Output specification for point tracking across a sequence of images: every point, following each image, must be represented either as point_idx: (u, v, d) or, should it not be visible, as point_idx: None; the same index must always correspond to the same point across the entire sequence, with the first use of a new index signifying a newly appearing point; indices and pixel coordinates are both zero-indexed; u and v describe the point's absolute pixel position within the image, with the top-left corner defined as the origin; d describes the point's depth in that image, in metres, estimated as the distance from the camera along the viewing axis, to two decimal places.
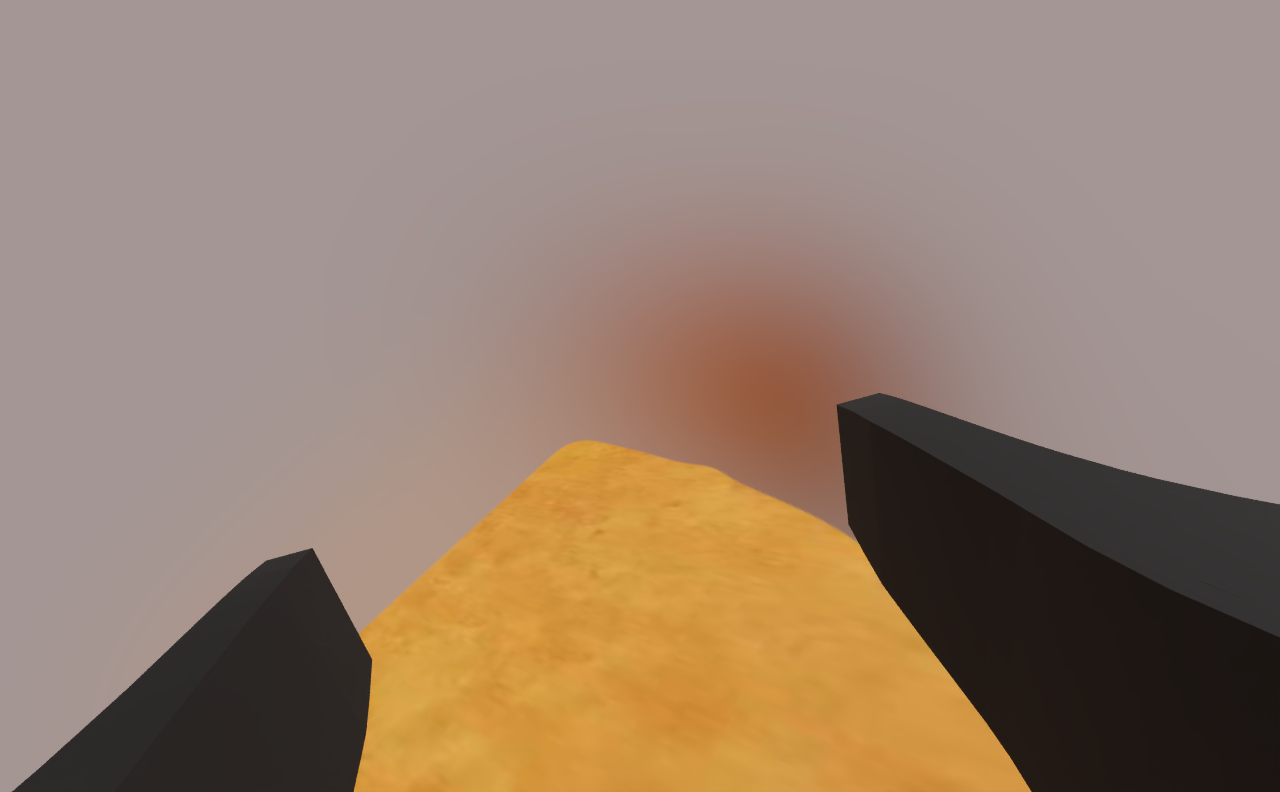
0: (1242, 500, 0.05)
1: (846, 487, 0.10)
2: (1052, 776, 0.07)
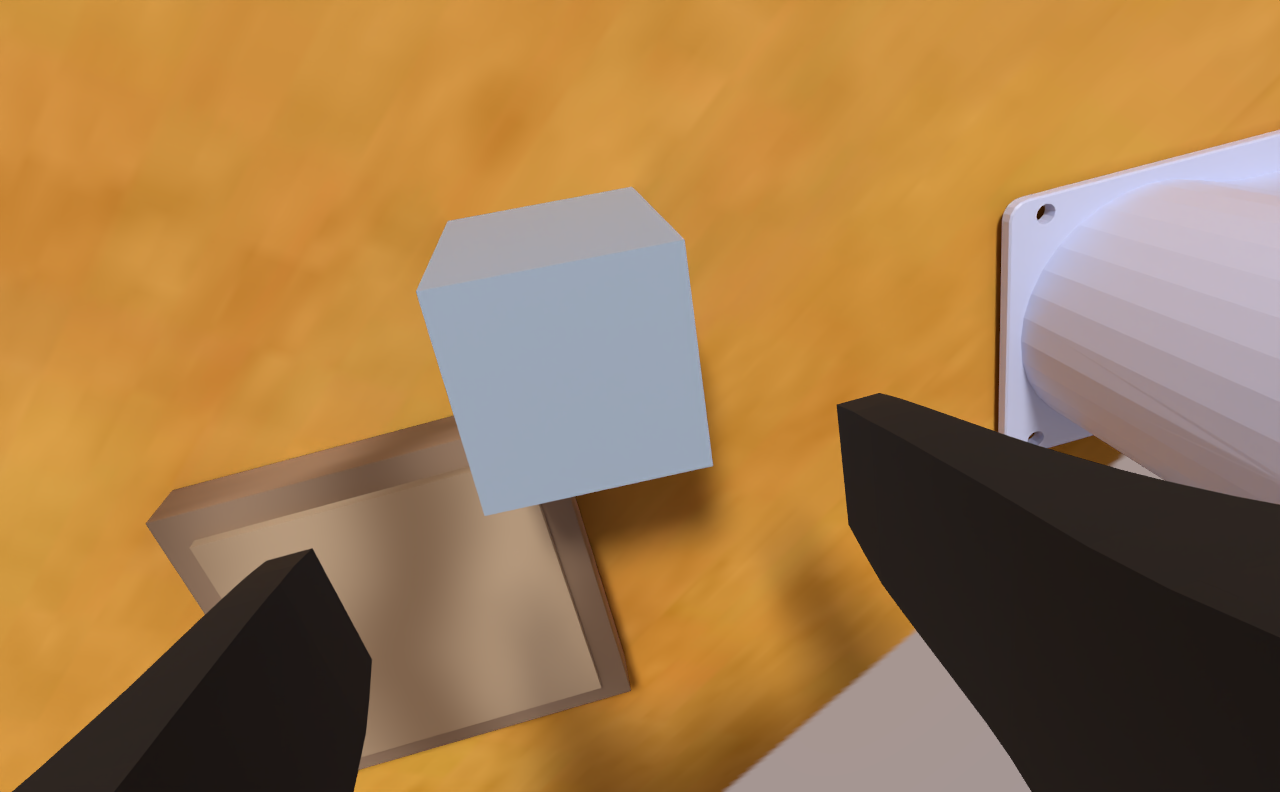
0: (1242, 500, 0.05)
1: (846, 487, 0.10)
2: (1052, 776, 0.07)
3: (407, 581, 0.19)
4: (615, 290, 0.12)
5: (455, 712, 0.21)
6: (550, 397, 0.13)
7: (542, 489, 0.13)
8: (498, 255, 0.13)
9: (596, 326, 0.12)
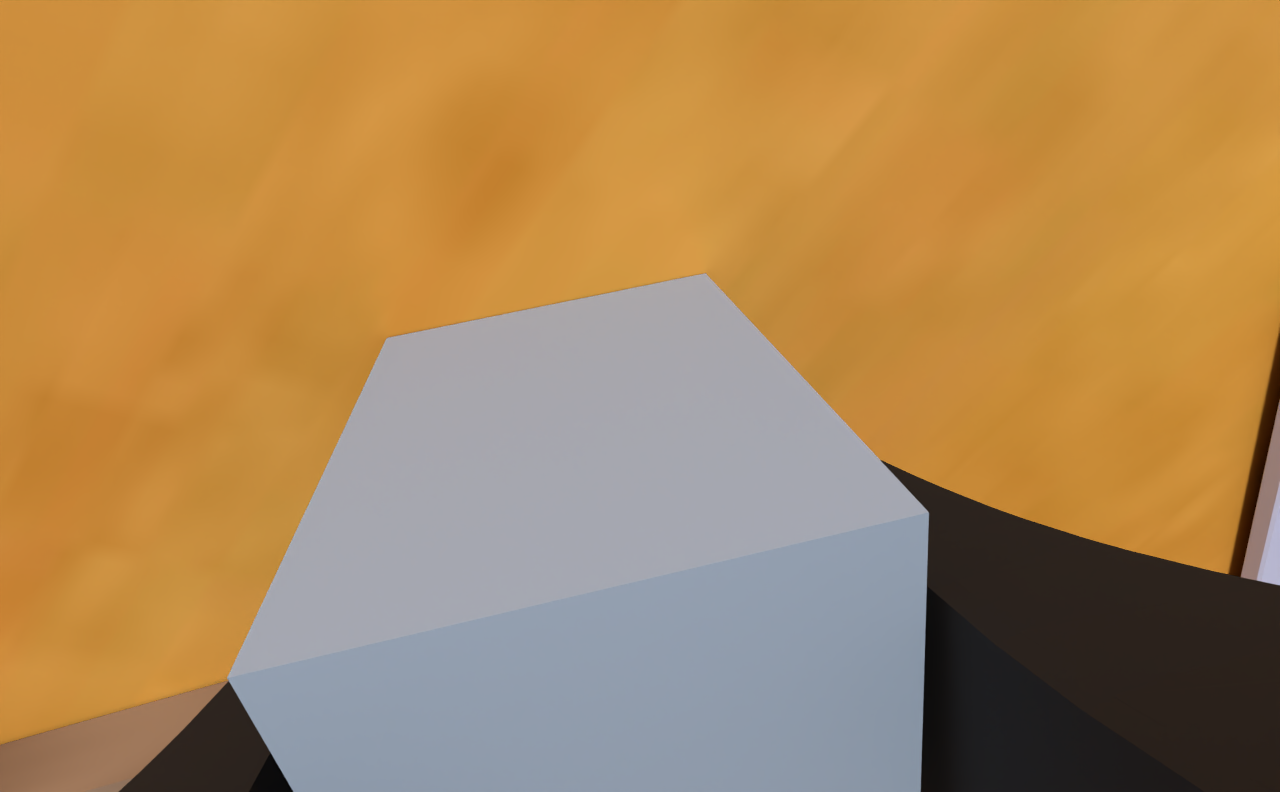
0: (1093, 543, 0.05)
1: None
2: None
3: None
4: (748, 631, 0.05)
5: None
6: None
7: None
8: (460, 501, 0.06)
9: (696, 704, 0.05)
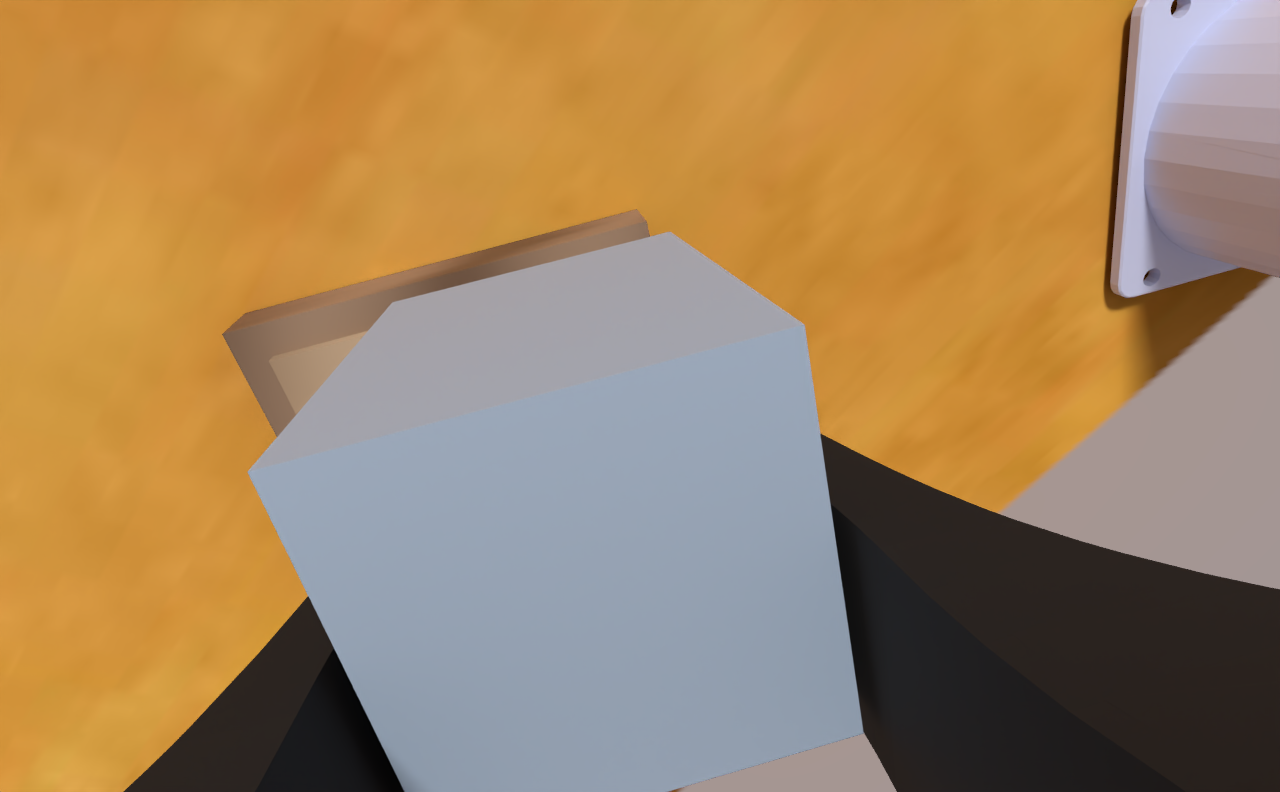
0: (1086, 545, 0.05)
1: None
2: None
3: None
4: (666, 437, 0.06)
5: None
6: (547, 646, 0.06)
7: None
8: (440, 371, 0.07)
9: (631, 508, 0.06)
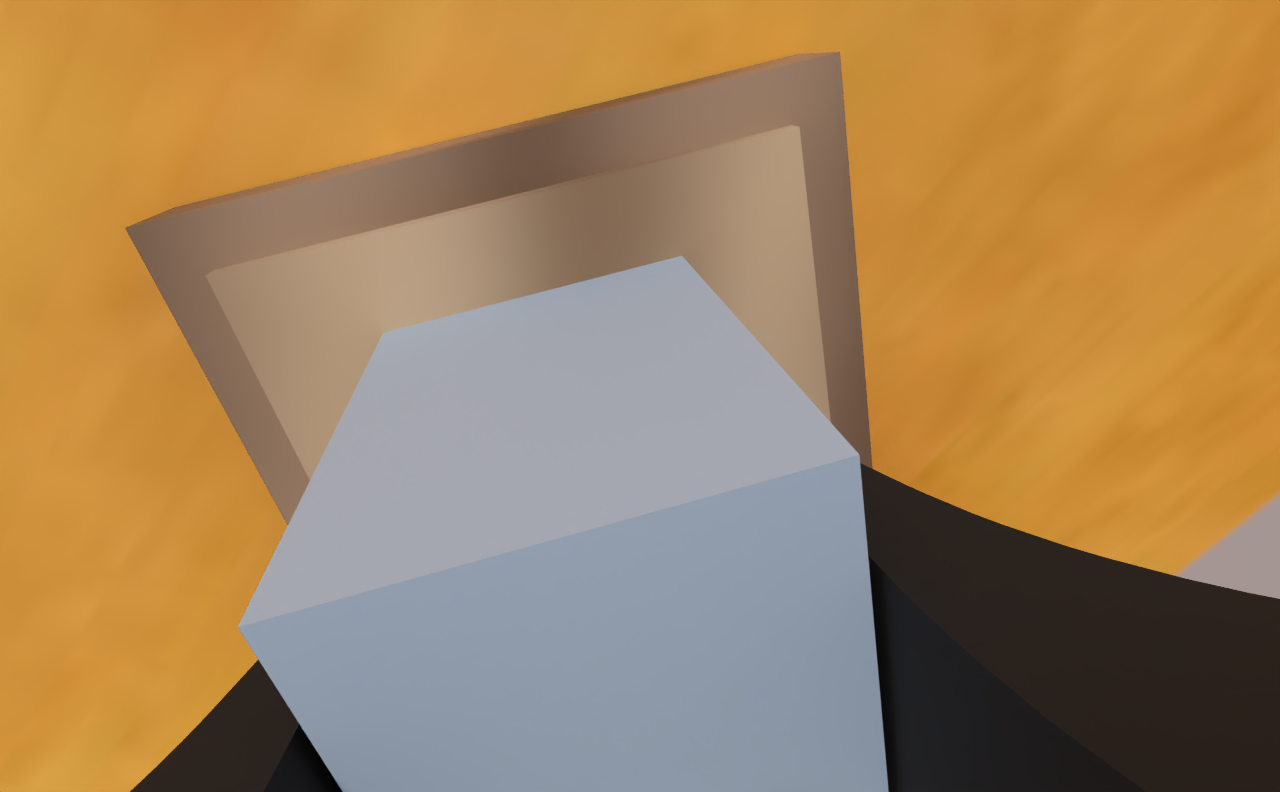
0: (1070, 550, 0.05)
1: None
2: None
3: None
4: (703, 571, 0.05)
5: None
6: (567, 772, 0.06)
7: None
8: (445, 470, 0.06)
9: (661, 641, 0.06)
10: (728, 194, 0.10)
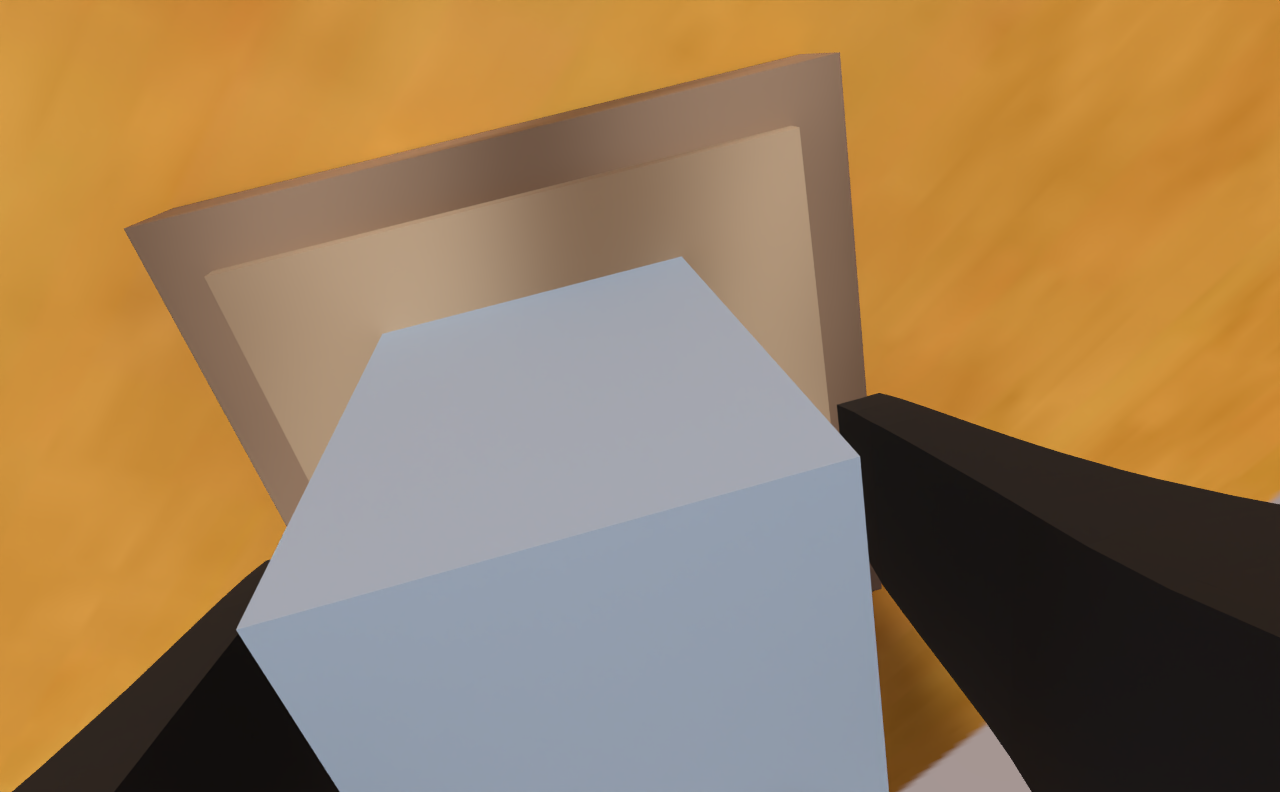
0: (1242, 500, 0.05)
1: None
2: (1052, 776, 0.07)
3: None
4: (704, 573, 0.05)
5: None
6: (568, 774, 0.06)
7: None
8: (445, 471, 0.06)
9: (661, 643, 0.06)
10: (728, 195, 0.10)
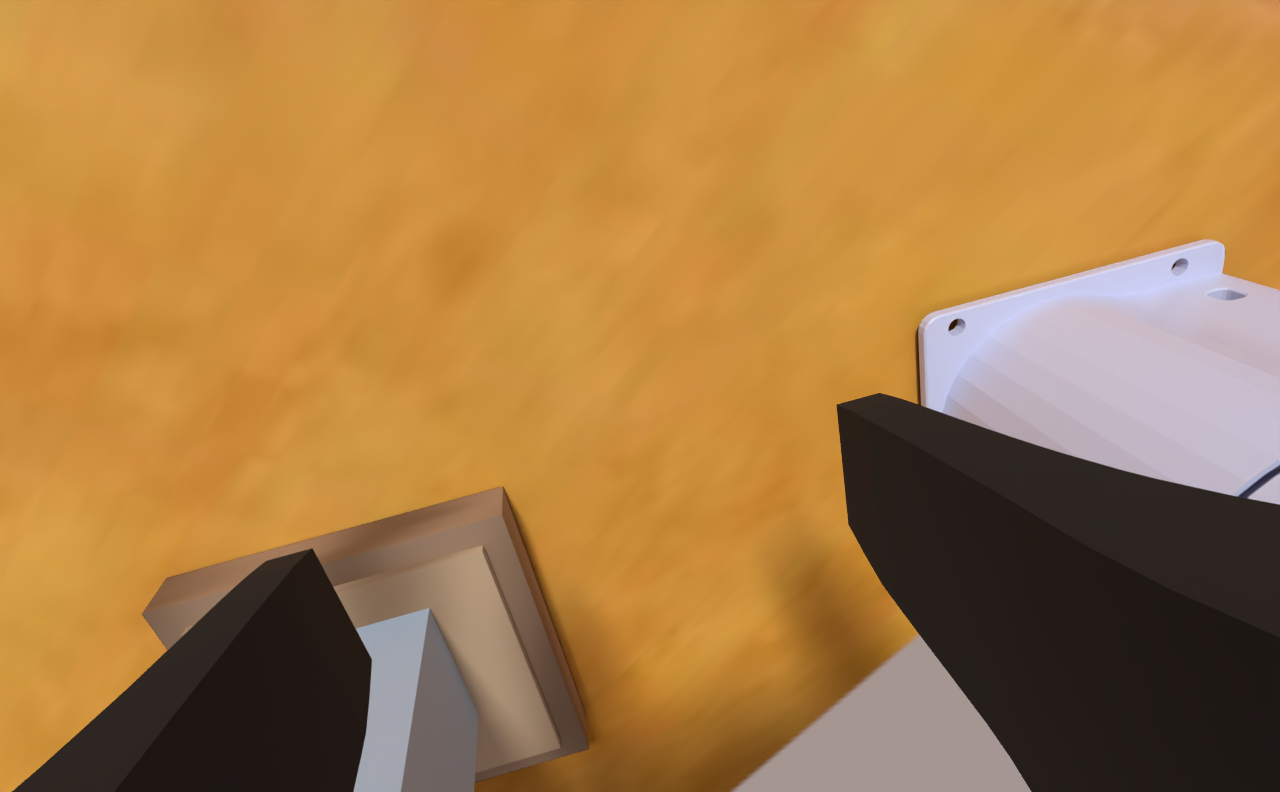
0: (1242, 500, 0.05)
1: (846, 487, 0.10)
2: (1052, 776, 0.07)
3: None
4: None
5: None
6: None
7: None
8: None
9: None
10: (449, 581, 0.20)
